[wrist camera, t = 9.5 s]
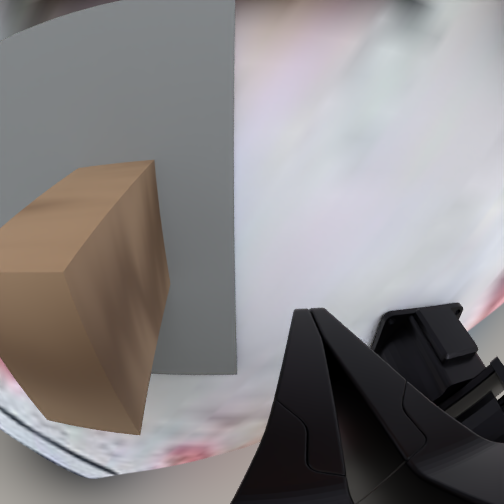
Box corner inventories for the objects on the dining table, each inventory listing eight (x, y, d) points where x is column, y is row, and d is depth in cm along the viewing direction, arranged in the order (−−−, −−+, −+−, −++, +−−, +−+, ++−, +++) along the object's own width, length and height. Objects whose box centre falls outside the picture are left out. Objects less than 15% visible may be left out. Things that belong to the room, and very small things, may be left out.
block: (170, 283, 15) (140, 435, 8) (102, 284, 15) (44, 419, 8) (154, 159, 12) (62, 272, 5) (75, 168, 12) (-49, 272, 5)
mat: (236, 367, 19) (236, 374, 19) (26, 353, 18) (23, 358, 18) (235, -7, 9) (235, -11, 8) (-54, 73, 8) (-60, 75, 7)
